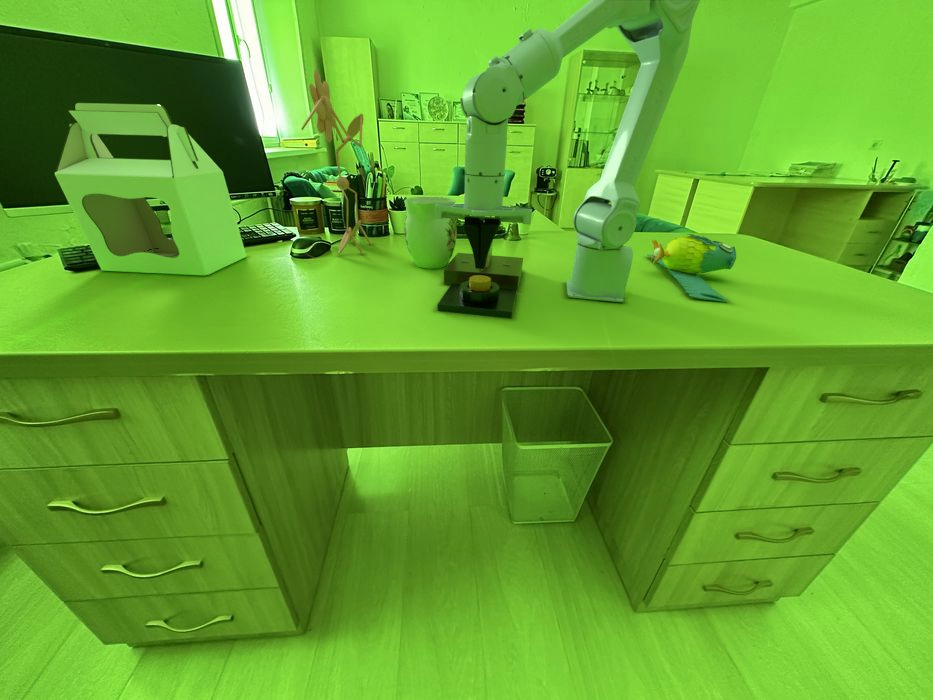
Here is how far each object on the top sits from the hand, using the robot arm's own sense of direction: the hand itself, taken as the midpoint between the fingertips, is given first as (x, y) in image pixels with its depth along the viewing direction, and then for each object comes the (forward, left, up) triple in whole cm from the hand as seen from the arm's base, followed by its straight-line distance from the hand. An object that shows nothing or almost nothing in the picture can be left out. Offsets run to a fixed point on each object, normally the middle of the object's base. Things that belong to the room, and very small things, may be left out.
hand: (480, 267), depth 60 cm
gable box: (+65, -5, -6) cm, 66 cm away
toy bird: (-40, -25, -6) cm, 48 cm away
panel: (+1, -13, -6) cm, 14 cm away
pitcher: (+14, -20, -6) cm, 25 cm away
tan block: (+1, -13, -3) cm, 13 cm away
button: (0, 0, -4) cm, 4 cm away
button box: (0, 0, -6) cm, 6 cm away
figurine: (+39, -25, -6) cm, 47 cm away
